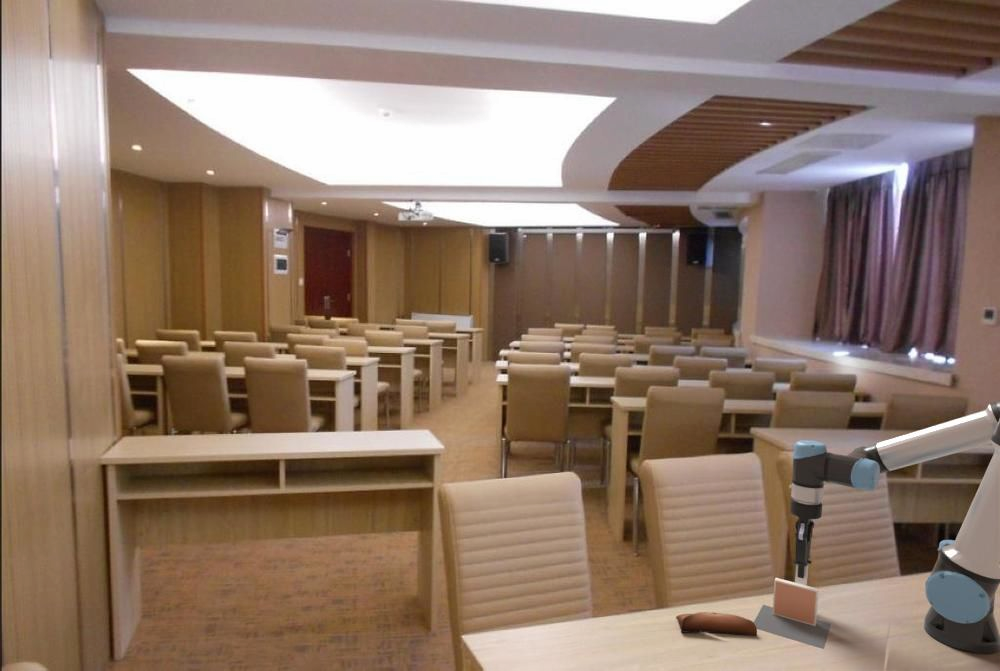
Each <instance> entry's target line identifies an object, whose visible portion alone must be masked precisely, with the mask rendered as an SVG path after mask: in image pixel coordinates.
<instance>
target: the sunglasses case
mask: <svg viewBox="0 0 1000 671" xmlns="http://www.w3.org/2000/svg"><path fill="white" fill-rule="evenodd" d="M675 618H676V620H677V624H678V626H679V629H680V633H716V634H729V635H740V636H741V635H743V636H752V637H753V636H754V637H756V636H758V629H757V628H756V626H755V624H754V621H752V620H750V619H748V618H745V617H742V616H740V615H735V614H731V613H721V612H713V611H712V612H707V611H705V612H704V611H701V612H696V613H684V614H683V613H682V614H679V615H676V616H675Z"/></svg>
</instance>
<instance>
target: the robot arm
mask: <svg viewBox="0 0 1000 671" xmlns="http://www.w3.org/2000/svg"><path fill="white" fill-rule="evenodd" d="M990 444H991V445H992V446H993V448H994V453H993V455H992V458H991V460H990V462H989V463H988V466H987V468H986V471H985V473H984V474H983V475H984V476H983V477H982V480H981V482H980V484H979V487H978V489H977V491H976V493H975V496H974V497H973V499H972V502H971V504H970V506H969V509H968V510H967V514H966V516H965V517H964V520H963V521H962V524H961V527H960V529H959V531H958V533H957V535H956V538H955V540H953V539H943V540H941V541H940V542H939V544H938V545H939V546H938V548H937V552H938V555H937V559H936V562H935V564H934V566H933V569H932V570H931V573H930V575H929V576H928V577H927V579H926V580H925V596H926V599H927V601H928V603H929V604H930V607H929V608H928V610H927V612H926V615H925V617H924V621H923V623H924V624H923V625H924V626H923V628H924V630H925V632H926V633H928V635H929V636H931V637H932V638H933V639H935V640H936V641H939V642H941V643H943V644H944V645H947V646H949V647H952V648H955V649H958V650H961V651H966V652H970V653H975V654H985V655H986V654H994V653H996V652H999V650H1000V632H999V628H998V626H997V621H996V619H995V615H994V610H995V599H996V592H997V591H998V588H999V586H1000V400H997V401H994V402H992V403H989V404H988V405H987V407H986V409H984V410H981V411H978V412H974V413H971V414H968V415H964V416H962V417H958V418H955V419H951V420H949V421H945V422H941V423H939V424H934V425H932V426H929V427H925V428H922V429H919V430H914V431H912V432H909V433H906V434H903V435H900V436H899V435H898V436H896V437H892V438H890V439H885V440H883V441H879V442H877V443H873V444H870V445H865V446H864V445H863V446H859V447H857V448H854V450H852V451H851V452H849V453H848V454H847V455H846V454H845V455H844V454H838V453H832V452H828V450H827V445H826V444H825V443H823V442H821V441H816V440H809V439H808V440H807V439H801V440H798V441H796V442H795V443H794V450H793V456H792V475H791V476H792V478H791V484H789V486H788V488H789V489H791V492H790V494H791V495H790V497H791V499H790V502H789V504H790V505H789V512H790V514H792V515H793V516H795V517H797V521H795V530H796V531H795V533H794V535H795V554H794V556H795V558H794V559H795V560H793V562H792V564H794V565H795V574H794V575H795V576H794V578H795V579H794V582H795V583H799V584H803V585H807V586H808V574H809V564H810V565H811V564H812V560H809V559H811V545H812V538H813V529H814V527H815V522H814V520H818V519H821V518H822V516H823V503H822V502H823V501H824V490H825V489H824V488H825V486H824V485H825V483H830V484H833V485H839V486H844V487H847V488H852V489H853V488H854V489H857V490H860V491H861V490H863V491H871V492H873V491H875V490H877V488H878V485H879V482H880V477H881V475H882V474H885V473H888V472H891V471H895V470H899V469H902V468H905V467H909V466H913V465H916V464H920V463H924V462H928V461H931V460H934V459H939V458H943V457H946V456H949V455H953V454H957V453H961V452H964V451H968V450H972V449H975V448H980V447H984V446H987V445H990Z"/></svg>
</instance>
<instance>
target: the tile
mask: <svg viewBox="0 0 1000 671" xmlns="http://www.w3.org/2000/svg"><path fill="white" fill-rule="evenodd" d="M819 591H820V590H819V588H818V587H813V586H810V585H808V584H807V585H803V584H799V583H795V581H790V580H786V579H782V578H779V577H775V579H774V584H773V600H772V601H773V602H772V607H773V613H772V614H774V615H778V616H781V617H785V618H788V619H792V620H795V621H799V622H802V623H806V624H809V625H813V626H816V623H817V620H818V618H817V617H818V605H819Z"/></svg>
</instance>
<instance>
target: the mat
mask: <svg viewBox="0 0 1000 671" xmlns="http://www.w3.org/2000/svg"><path fill="white" fill-rule="evenodd" d="M772 613H773V606H769V605H765V604H762V606H761V608H760V610H759V612H758V614H757V615H756V617H755V619H754V621H753V623H754V624H755V626H756V628H757V630H759V631H764V632H765V633H766V632H767V633H770V634H773V635H776V636H779V637H783V638H786V639H790V640H793V641H797V642H799V643H802V644H806V645H809V646H812V647H816V648H820V649H822V650H824V649H825V645H826V641H827V639H828V635H829V631H830V630H831V629H830V628H831V624H832V623H830V622H826V621H823V620H820V619H817V623H816V626H813V625H809V624H806V623H802V622H799V621H795V620H792V619H788V618H785V617H781V616H778V615H774V614H772Z"/></svg>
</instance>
